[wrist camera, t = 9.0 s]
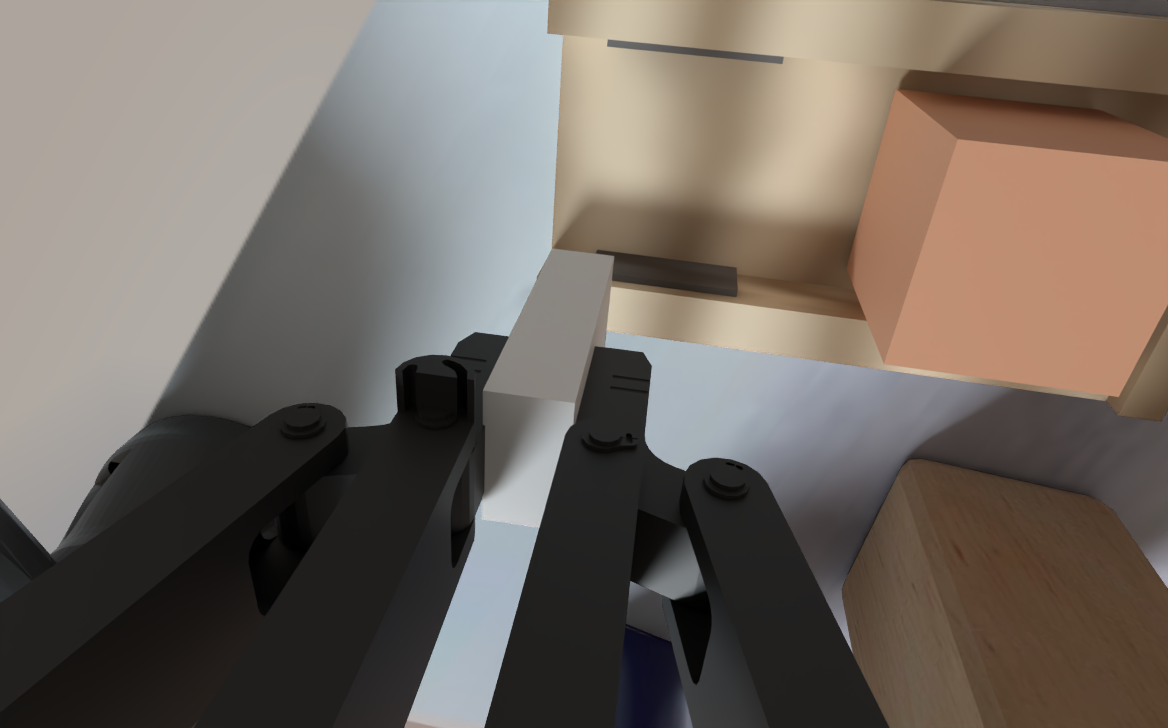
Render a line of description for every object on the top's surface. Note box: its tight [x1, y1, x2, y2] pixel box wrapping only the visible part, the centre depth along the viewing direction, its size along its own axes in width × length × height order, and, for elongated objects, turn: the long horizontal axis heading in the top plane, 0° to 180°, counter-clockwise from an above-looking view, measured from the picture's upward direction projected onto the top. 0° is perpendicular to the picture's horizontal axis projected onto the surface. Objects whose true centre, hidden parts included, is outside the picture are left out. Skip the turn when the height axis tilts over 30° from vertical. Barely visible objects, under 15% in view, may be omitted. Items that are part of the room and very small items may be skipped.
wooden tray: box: [537, 0, 1168, 421], centre depth 27 cm, size 24×13×5 cm, turn 86°
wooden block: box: [842, 459, 1168, 728], centre depth 29 cm, size 10×10×20 cm
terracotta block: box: [846, 89, 1168, 397], centre depth 24 cm, size 7×7×8 cm
